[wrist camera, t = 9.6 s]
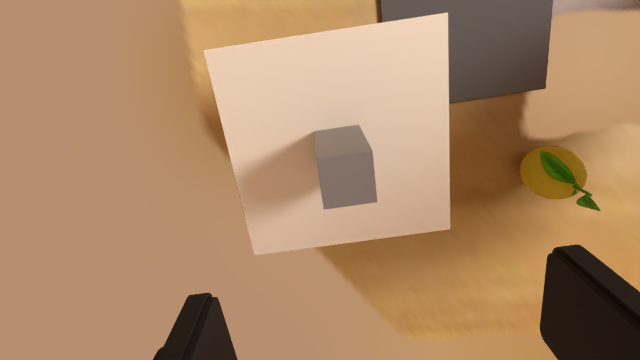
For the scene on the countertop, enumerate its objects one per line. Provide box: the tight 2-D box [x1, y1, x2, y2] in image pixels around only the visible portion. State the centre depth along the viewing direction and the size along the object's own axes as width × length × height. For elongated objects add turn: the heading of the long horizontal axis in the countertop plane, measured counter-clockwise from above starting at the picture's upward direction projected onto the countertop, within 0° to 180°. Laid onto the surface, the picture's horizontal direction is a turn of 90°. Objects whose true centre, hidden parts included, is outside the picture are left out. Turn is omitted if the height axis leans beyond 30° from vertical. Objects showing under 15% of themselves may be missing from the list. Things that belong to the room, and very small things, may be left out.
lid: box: [204, 13, 450, 256], centre depth 24 cm, size 15×15×8 cm
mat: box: [380, 0, 553, 103], centre depth 37 cm, size 17×17×1 cm
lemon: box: [520, 146, 600, 211], centre depth 38 cm, size 7×6×10 cm
